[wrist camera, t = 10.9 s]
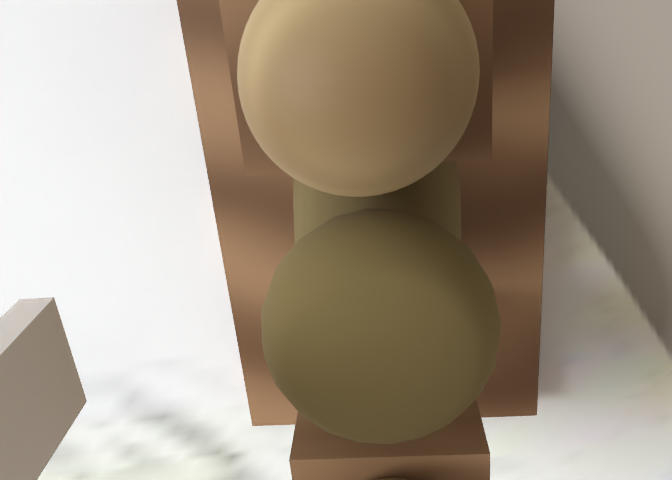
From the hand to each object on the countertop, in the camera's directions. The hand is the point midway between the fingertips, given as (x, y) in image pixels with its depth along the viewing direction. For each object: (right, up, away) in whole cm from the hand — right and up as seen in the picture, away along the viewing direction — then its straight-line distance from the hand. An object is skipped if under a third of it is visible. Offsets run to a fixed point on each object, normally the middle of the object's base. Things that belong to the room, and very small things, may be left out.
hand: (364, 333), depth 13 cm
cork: (+1, +4, +9) cm, 10 cm away
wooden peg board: (+1, +4, +11) cm, 11 cm away
